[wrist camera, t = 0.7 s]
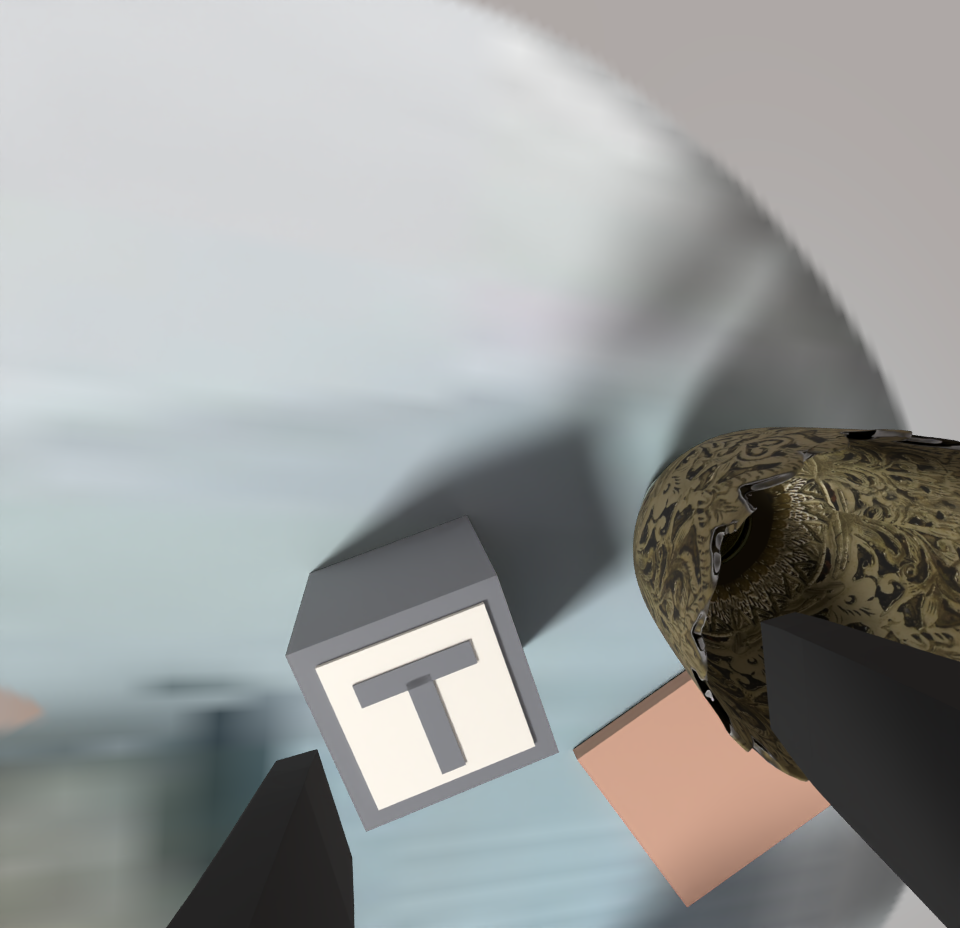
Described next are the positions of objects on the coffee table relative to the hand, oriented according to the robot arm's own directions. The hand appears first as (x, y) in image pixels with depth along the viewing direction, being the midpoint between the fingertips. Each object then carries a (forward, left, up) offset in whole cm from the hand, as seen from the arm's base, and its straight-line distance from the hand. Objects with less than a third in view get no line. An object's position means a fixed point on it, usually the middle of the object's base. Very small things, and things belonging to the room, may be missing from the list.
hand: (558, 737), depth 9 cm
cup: (+6, -3, -10) cm, 12 cm away
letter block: (-3, -1, -10) cm, 10 cm away
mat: (+3, -12, -10) cm, 16 cm away
